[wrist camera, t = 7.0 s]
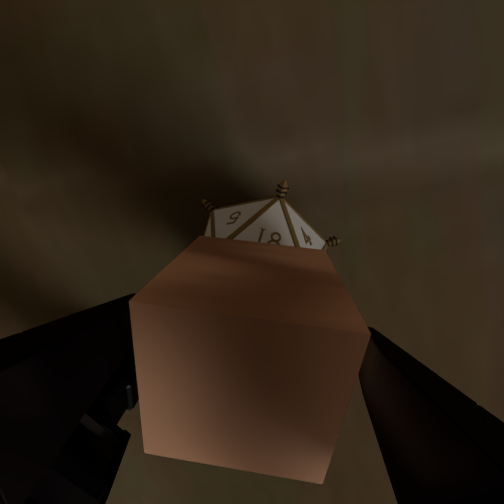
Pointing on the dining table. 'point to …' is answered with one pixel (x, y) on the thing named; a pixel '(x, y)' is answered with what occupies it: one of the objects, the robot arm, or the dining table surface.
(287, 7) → the dining table surface
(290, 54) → the dining table surface
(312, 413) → the terracotta block
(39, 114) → the dining table surface
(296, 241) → the game die
